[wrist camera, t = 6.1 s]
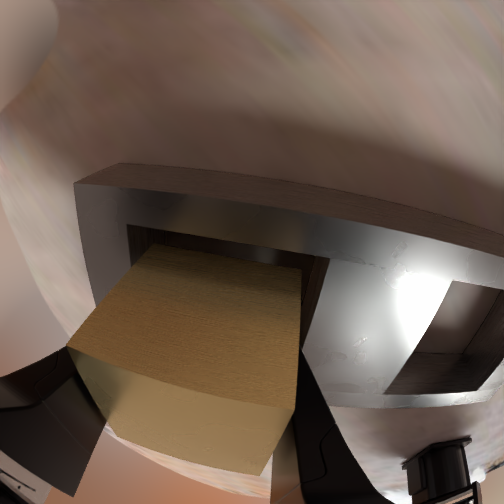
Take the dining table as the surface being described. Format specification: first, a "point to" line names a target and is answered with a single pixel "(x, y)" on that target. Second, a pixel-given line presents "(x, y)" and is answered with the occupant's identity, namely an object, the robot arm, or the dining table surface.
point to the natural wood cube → (196, 356)
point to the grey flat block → (320, 272)
